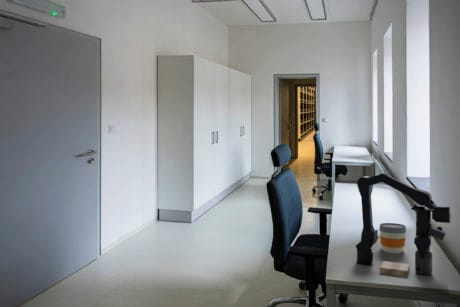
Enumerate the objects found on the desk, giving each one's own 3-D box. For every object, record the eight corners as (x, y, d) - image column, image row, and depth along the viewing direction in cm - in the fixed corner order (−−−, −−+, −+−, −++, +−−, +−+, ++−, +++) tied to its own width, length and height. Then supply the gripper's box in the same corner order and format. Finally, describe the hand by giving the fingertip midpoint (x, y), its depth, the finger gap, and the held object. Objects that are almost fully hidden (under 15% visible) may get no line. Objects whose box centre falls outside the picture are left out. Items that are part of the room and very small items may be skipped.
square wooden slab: (379, 274, 177) (379, 267, 177) (382, 267, 187) (382, 261, 187) (407, 278, 172) (407, 270, 172) (409, 270, 182) (409, 264, 182)
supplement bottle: (427, 270, 180) (427, 243, 180) (435, 275, 173) (436, 246, 173) (411, 270, 179) (412, 242, 179) (419, 275, 173) (420, 246, 172)
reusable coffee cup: (410, 258, 200) (410, 227, 199) (384, 258, 200) (384, 227, 199) (400, 251, 212) (400, 222, 212) (375, 251, 212) (375, 222, 212)
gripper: (444, 226, 164) (444, 265, 164) (444, 218, 181) (443, 254, 181) (414, 223, 169) (414, 261, 169) (416, 216, 186) (416, 251, 186)
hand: (423, 256), depth 176 cm, fingers closed on supplement bottle, 7 cm apart
